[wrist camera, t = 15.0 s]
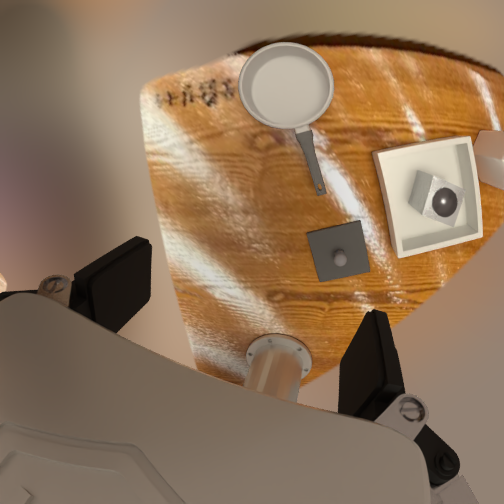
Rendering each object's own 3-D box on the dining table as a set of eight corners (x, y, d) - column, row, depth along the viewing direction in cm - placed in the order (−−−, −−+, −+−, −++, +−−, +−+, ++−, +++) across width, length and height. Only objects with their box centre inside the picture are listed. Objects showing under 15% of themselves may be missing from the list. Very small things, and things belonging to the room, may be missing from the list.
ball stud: (369, 269, 40) (373, 281, 36) (319, 280, 43) (318, 293, 39) (360, 220, 38) (363, 228, 34) (306, 232, 40) (304, 241, 37)
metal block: (446, 181, 31) (466, 190, 25) (436, 213, 33) (454, 228, 27) (417, 169, 32) (434, 176, 26) (408, 203, 34) (422, 215, 28)
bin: (469, 227, 33) (482, 236, 29) (391, 246, 38) (398, 258, 34) (456, 135, 29) (470, 136, 25) (371, 151, 34) (377, 153, 30)
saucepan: (283, 197, 39) (277, 206, 35) (239, 70, 34) (226, 60, 29) (361, 178, 36) (367, 184, 31) (315, 45, 30) (314, 31, 25)
